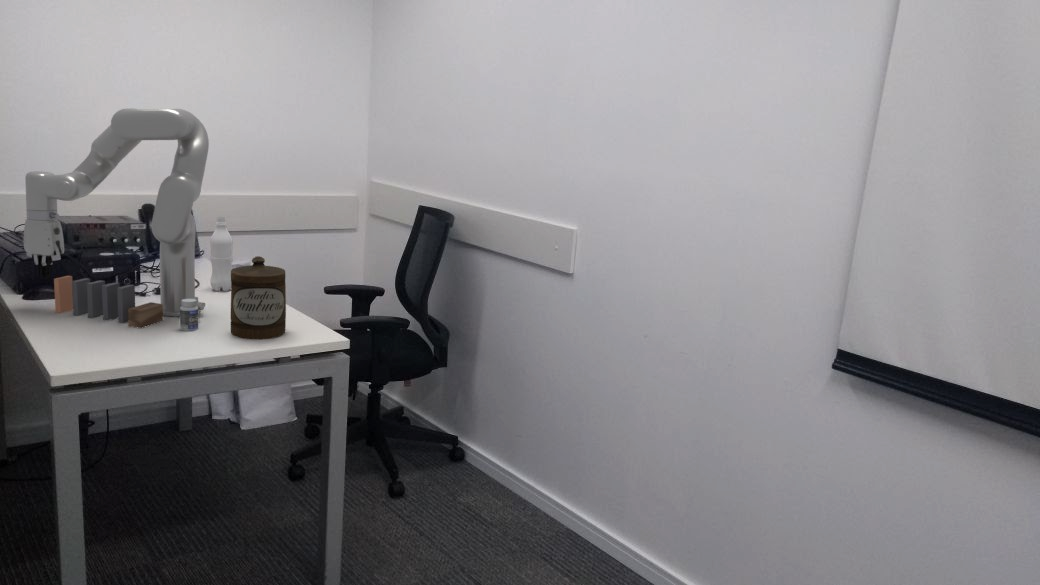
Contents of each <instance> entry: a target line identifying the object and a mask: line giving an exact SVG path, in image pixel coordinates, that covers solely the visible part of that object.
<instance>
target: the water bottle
mask: <svg viewBox="0 0 1040 585" xmlns="http://www.w3.org/2000/svg"><path fill="white" fill-rule="evenodd" d="M227 225H228V223H227V217H226V216H217V217H216V222H215V229H214V231H213V232H212V235H211V236H210V239H209V240H210V241H209V244H210V256H209V257H210V258H209V260H210V263H211V264H210V265H211V268H212V270H211V277H210V279H209V280H210V281H209V283H210V286H211V288H212V289H213V290H214V291H215V292H220V290H221V289H222V291H223V292H228V291H229V290H230V291H231V270H232V263H233V261H234V259H233V238H232V236H231V234H230V232H229V230H228V228H227Z"/></svg>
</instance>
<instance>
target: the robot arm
mask: <svg viewBox="0 0 1040 585" xmlns="http://www.w3.org/2000/svg"><path fill="white" fill-rule="evenodd" d="M142 141H177V147H176V151H175V154H174V159H173V166H172V169H171V172H170V175H168V176H166V178H164V179H163V181H161V183H160V185H159V188H158V192H157V196H156V201H155V205H154V206H155V207H154V210H153V213H152V214H153V215H152V220H151V231H152V234H153V236H154V238H155V239H156V240H157V241H159V283H160V284H159V285H160V286H159V287H160V288H159V289H160V291H159V292H160V304H163V317H165V316H166V317H180V307H181V306H182V305H181V300H183V299H196V300H197V305H196V306H197V307H198V314H199V313H200V312H201V311H203V310H204V309H205V307H206V302H201V301H200V302H199V296H196V282H195V281H196V278H195V277H196V275H195V273H196V272H195V267H196V266H195V261H196V260H195V256H196V255H195V249H196V248H195V247H196V233H197V232H196V231H197V229H196V228H197V226H196V224H197V223H196V220H195V217H194V216H193V214H192V211H193V206H194V203H195V202H196V201H197V200H198V199H199V197H200V195H201V193H202V192H201V191H202V185H203V180H204V175H205V170H206V165H207V160H208V153H209V149H210V148H209V145H210V142H209V136H208V131H207V129H206V128H205V126H204V124H203V123H202V122H201V120H200V119H199V118H198V117H197V116H195V115H194V113H192V112H190V111H188V110H185V109H183V108H160V109H159V108H158V109H157V108H156V109H155V108H153V109H152V108H150V109H149V108H148V109H144V108H121V109H119V110H117V111H116V112H115V113H114V114H113V115H112V117H111V120H110V124H109V126H107V128H106V129H104V130H103V131H102V133H100V134H99V135H98V136H97V138H95V139H94V140H93V141H92V142H91V147H90V151H89V154H88V155H87V156H86V157H85V159H84V160H83V161H82V162H81V163H80V164H79V165H78V166H77V167H76V168H74V170H73V171H71V172H68V173H64V174H54V172H53V173H52V172H49V171H29V172H27V173H26V174H25V202H26V203H25V205H26V206H25V207H26V208H25V209H26V219H25V221H24V226H23V228H24V229H23V247H24V248H23V249H24V251H25V254H26V257H29V258H32V260H33V261H34V265H36V275H37V279H39V280H40V279H41V280H45V279H46V280H47V279H51V277H52V274H51V273H52V268H51V267H52V266H51V265H53V262H56V261H60V260H61V259H62V258H61V255H63V254H64V253H65V240H64V233H63V228H62V227H63V226H62V224H61V221H60V220H59V218H60V214H59V213H58V200H60V201H65V202H72V201H75V200H79V199H81V198H85V197H87V196H88V195H90V194H91V193H92V192H94V190H95V189H96V188H98V187H99V185H101V183H103V181H105V179H106V178H107V177H108V176H109V175H110V174H111V173H112V172H113V171H114V169H116V167H117V166H118V165H119V164H120V163H121V162H122V161H123V159H125V158H126V157H127V156H128V154H130V153H131V152H132V151H133V149H135V148H136V147H137V146H138V145H139V144H140V143H141V142H142Z"/></svg>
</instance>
